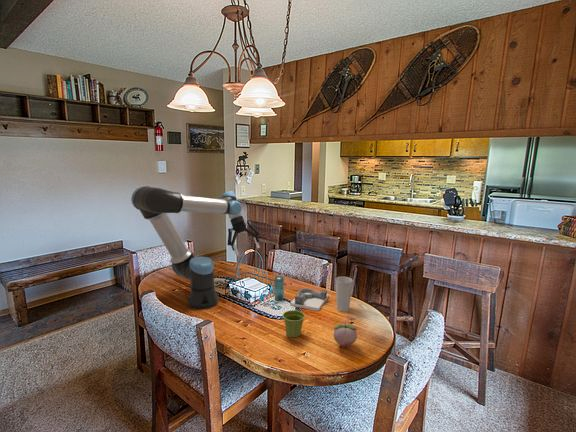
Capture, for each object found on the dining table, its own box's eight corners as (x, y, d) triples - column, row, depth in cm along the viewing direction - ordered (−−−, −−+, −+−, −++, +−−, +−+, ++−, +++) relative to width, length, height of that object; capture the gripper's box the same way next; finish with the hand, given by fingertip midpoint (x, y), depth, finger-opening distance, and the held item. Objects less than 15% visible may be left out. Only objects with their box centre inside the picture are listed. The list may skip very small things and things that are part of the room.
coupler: (284, 300, 170) (284, 279, 168) (275, 301, 169) (274, 279, 167) (283, 296, 174) (283, 275, 172) (274, 297, 174) (274, 276, 172)
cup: (351, 313, 156) (352, 283, 153) (333, 312, 157) (334, 282, 154) (351, 306, 164) (352, 277, 161) (334, 304, 165) (335, 275, 163)
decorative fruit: (353, 339, 134) (354, 317, 132) (358, 351, 126) (359, 327, 124) (331, 340, 133) (331, 317, 131) (334, 351, 125) (335, 328, 123)
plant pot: (291, 326, 144) (291, 308, 143) (308, 333, 138) (309, 314, 137) (278, 334, 137) (278, 315, 136) (295, 342, 131) (295, 323, 130)
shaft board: (318, 311, 158) (318, 301, 157) (290, 305, 164) (290, 295, 163) (328, 296, 175) (328, 287, 174) (302, 292, 180) (302, 283, 179)
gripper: (257, 210, 190) (269, 244, 189) (219, 224, 195) (231, 257, 194) (253, 210, 182) (265, 245, 182) (214, 224, 187) (226, 259, 186)
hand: (248, 251), depth 188 cm, fingers open, 13 cm apart
